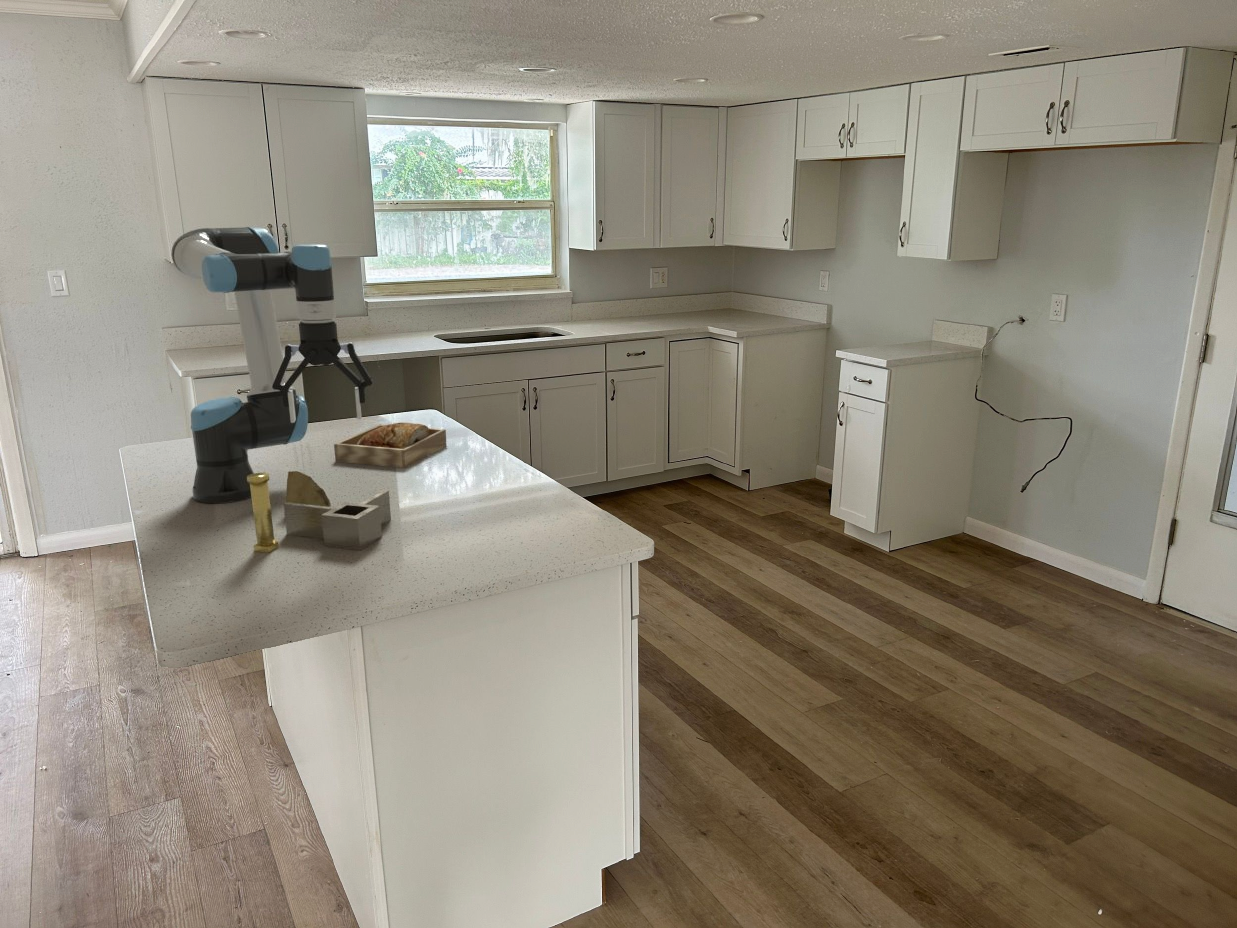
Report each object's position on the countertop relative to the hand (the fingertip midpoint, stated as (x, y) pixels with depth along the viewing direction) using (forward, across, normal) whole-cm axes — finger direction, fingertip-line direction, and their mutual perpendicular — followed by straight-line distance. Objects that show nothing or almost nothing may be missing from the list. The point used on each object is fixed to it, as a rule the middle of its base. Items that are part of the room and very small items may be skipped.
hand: (326, 419), depth 191 cm
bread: (+25, +12, +58) cm, 65 cm away
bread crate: (+25, +12, +59) cm, 65 cm away
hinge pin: (+24, -13, -11) cm, 30 cm away
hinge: (+25, +1, -3) cm, 25 cm away
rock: (+25, -7, +12) cm, 29 cm away
